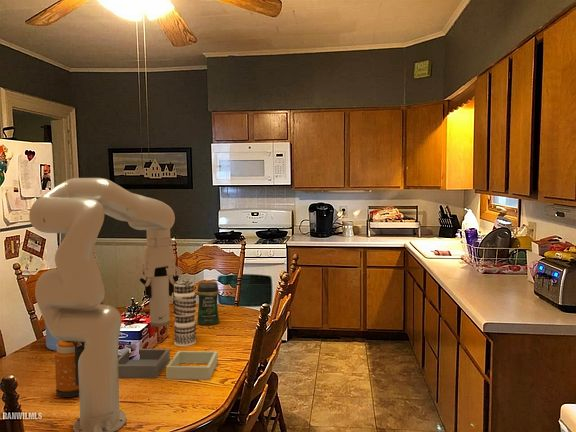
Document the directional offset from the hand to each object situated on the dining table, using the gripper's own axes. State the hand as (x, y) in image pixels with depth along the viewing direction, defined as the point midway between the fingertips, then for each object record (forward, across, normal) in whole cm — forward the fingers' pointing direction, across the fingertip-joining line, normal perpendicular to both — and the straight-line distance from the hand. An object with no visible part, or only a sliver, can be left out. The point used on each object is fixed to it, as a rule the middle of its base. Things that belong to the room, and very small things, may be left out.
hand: (159, 295), depth 149 cm
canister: (+26, +26, +6) cm, 37 cm away
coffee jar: (+25, -29, -43) cm, 58 cm away
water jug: (+25, +28, -41) cm, 56 cm away
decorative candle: (+25, -14, -23) cm, 37 cm away
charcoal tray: (+25, +6, -4) cm, 26 cm away
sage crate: (+25, -10, +6) cm, 28 cm away
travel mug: (+10, 0, 0) cm, 10 cm away
